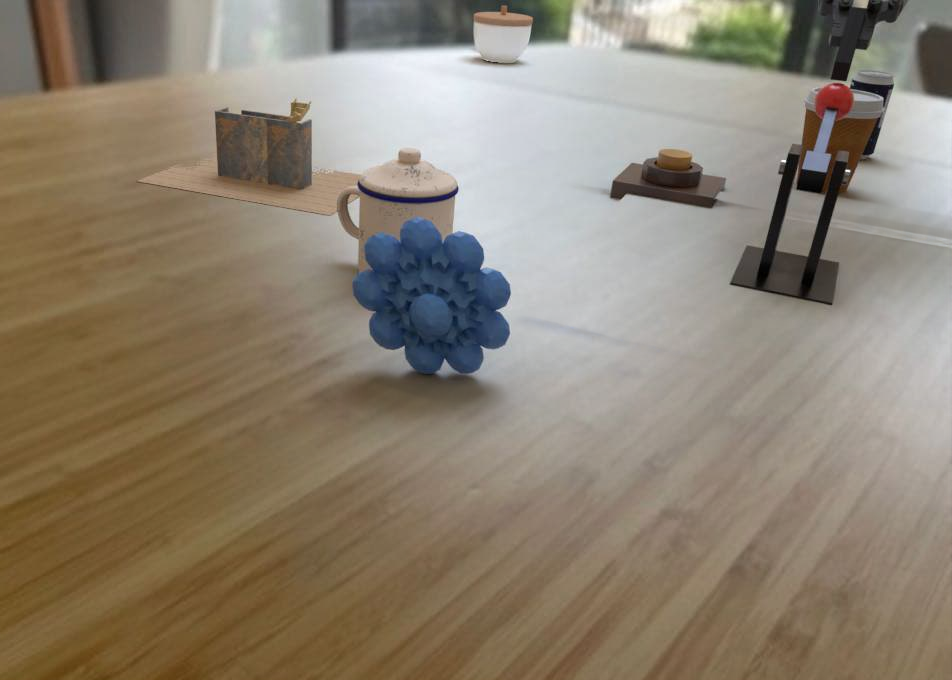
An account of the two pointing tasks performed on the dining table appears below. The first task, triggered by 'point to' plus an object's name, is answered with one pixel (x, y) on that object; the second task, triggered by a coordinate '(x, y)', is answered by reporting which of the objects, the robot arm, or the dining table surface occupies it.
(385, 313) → the blue flower ornament
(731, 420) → the dining table surface
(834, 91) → the power lever
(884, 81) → the beverage can
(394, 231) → the teacup with lid
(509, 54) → the lidded bowl
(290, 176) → the architectural model on board
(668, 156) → the button
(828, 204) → the stand
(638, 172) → the brown lamp base
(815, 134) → the disposable coffee cup
